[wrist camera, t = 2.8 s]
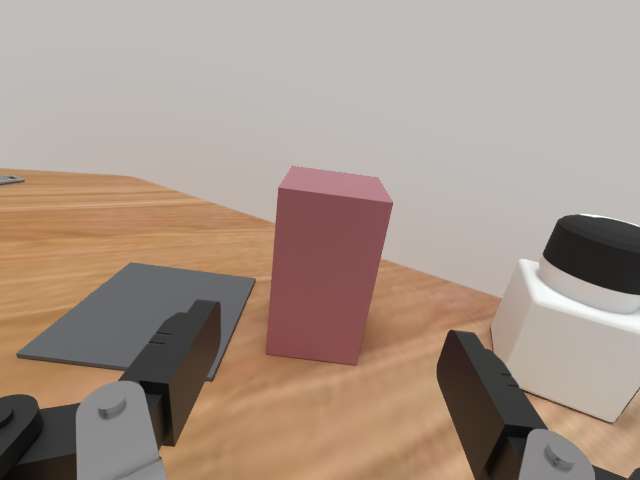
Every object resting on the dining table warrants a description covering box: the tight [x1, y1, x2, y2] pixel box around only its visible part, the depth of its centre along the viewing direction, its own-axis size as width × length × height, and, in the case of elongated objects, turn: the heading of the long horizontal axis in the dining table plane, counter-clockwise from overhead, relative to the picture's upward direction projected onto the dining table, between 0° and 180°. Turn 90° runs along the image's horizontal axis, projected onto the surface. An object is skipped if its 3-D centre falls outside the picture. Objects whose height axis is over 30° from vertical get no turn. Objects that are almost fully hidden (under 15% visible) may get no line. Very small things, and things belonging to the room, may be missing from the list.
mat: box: [16, 263, 255, 381], centre depth 25 cm, size 12×12×1 cm
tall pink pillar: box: [266, 166, 393, 365], centre depth 23 cm, size 6×6×12 cm
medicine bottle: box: [491, 214, 640, 423], centre depth 22 cm, size 7×7×12 cm
